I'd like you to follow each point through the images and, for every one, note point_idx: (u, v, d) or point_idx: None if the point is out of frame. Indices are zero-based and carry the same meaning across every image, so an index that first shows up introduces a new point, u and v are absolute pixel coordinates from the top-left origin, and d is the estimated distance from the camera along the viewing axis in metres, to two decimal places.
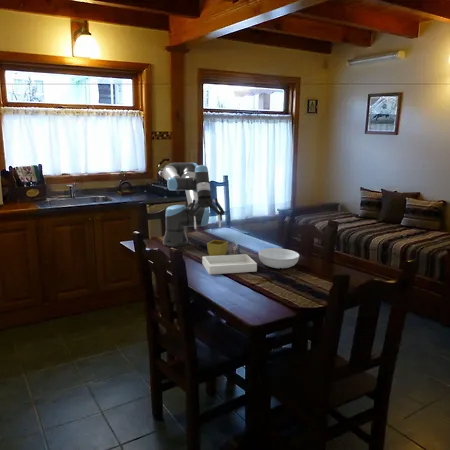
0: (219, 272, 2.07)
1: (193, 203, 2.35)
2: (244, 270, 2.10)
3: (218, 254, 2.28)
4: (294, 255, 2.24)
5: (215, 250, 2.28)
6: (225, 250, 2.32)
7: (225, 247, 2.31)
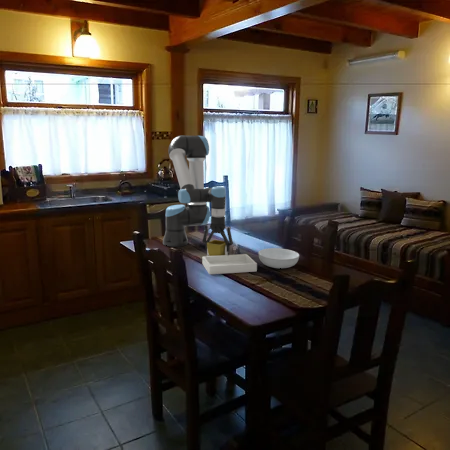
0: (219, 272, 2.07)
1: (206, 230, 2.30)
2: (244, 270, 2.10)
3: (218, 254, 2.28)
4: (294, 255, 2.24)
5: (215, 250, 2.28)
6: None
7: None
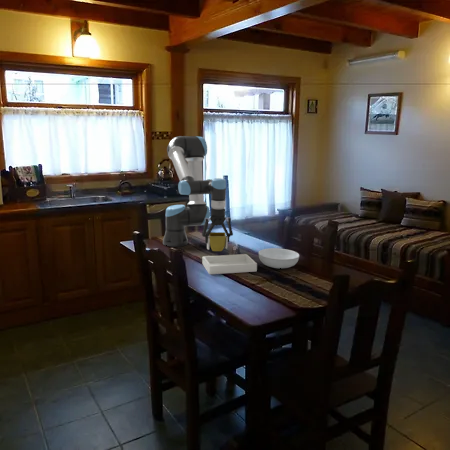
0: (219, 272, 2.07)
1: (206, 223, 2.26)
2: (244, 270, 2.10)
3: (222, 246, 2.28)
4: (294, 255, 2.24)
5: (219, 242, 2.27)
6: None
7: None
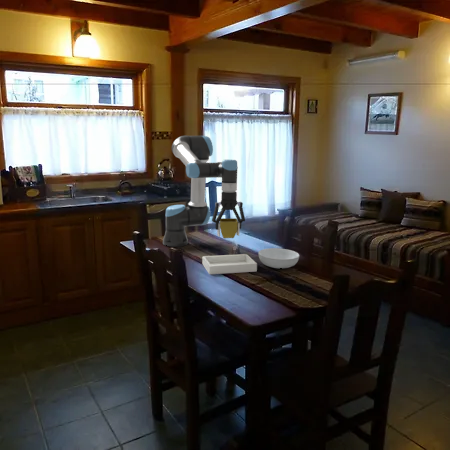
0: (219, 272, 2.07)
1: (217, 207, 2.10)
2: (244, 270, 2.10)
3: (234, 232, 2.11)
4: (294, 255, 2.24)
5: (230, 228, 2.11)
6: None
7: None
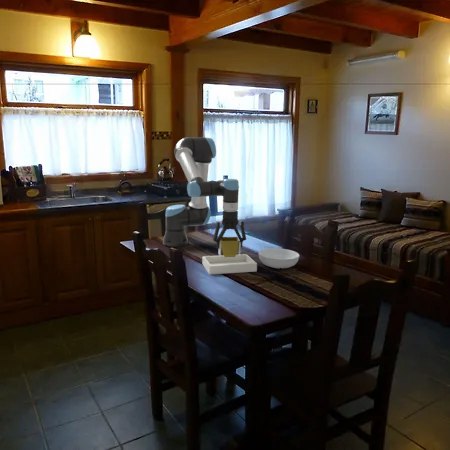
0: (219, 272, 2.07)
1: (218, 227, 2.10)
2: (244, 270, 2.10)
3: (235, 251, 2.12)
4: (294, 255, 2.24)
5: (231, 247, 2.11)
6: None
7: None
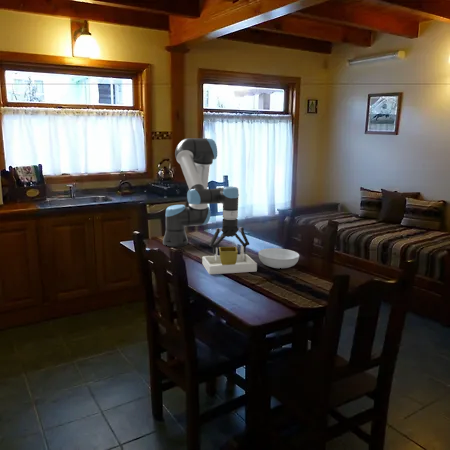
0: (219, 272, 2.07)
1: (217, 233, 2.10)
2: (244, 270, 2.10)
3: (234, 261, 2.13)
4: (294, 255, 2.24)
5: (230, 258, 2.12)
6: None
7: None
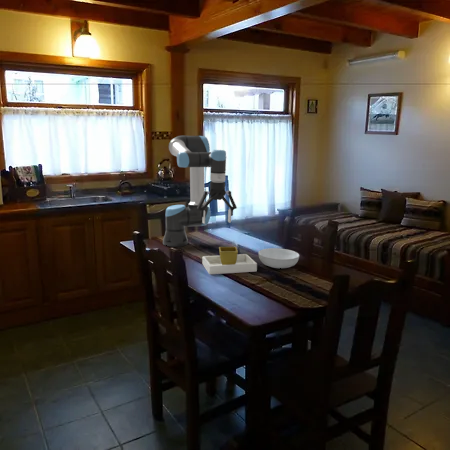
0: (219, 272, 2.07)
1: (205, 196, 2.12)
2: (244, 270, 2.10)
3: (234, 261, 2.13)
4: (294, 255, 2.24)
5: (230, 258, 2.12)
6: None
7: None
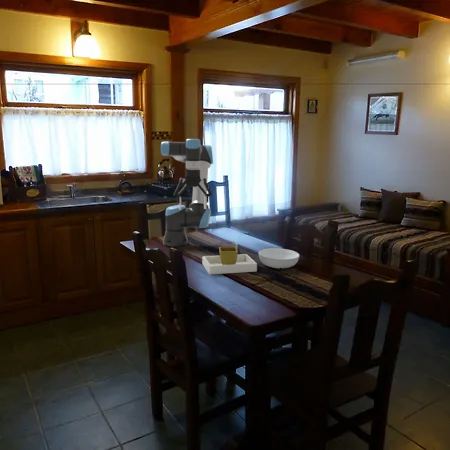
0: (219, 272, 2.07)
1: (180, 183, 2.22)
2: (244, 270, 2.10)
3: (234, 261, 2.13)
4: (294, 255, 2.24)
5: (230, 258, 2.12)
6: None
7: None
